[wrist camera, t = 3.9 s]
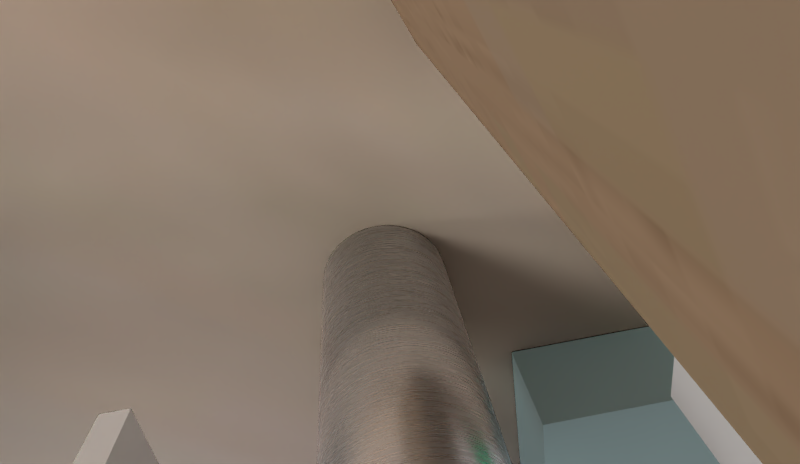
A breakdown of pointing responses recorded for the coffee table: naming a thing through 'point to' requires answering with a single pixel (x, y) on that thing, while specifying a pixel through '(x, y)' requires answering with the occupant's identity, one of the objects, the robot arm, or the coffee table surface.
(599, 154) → the wooden block
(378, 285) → the cylinder
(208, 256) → the coffee table surface
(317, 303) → the coffee table surface
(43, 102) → the coffee table surface
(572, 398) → the socket plate
